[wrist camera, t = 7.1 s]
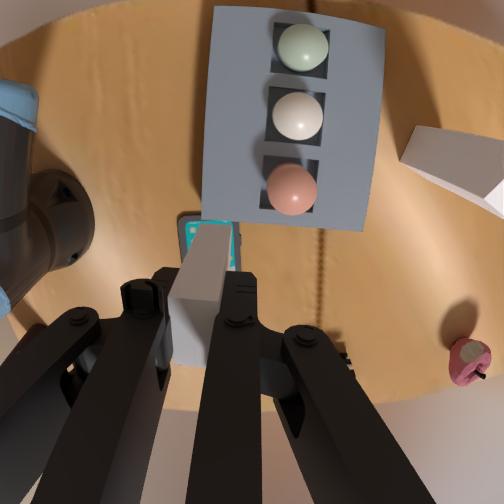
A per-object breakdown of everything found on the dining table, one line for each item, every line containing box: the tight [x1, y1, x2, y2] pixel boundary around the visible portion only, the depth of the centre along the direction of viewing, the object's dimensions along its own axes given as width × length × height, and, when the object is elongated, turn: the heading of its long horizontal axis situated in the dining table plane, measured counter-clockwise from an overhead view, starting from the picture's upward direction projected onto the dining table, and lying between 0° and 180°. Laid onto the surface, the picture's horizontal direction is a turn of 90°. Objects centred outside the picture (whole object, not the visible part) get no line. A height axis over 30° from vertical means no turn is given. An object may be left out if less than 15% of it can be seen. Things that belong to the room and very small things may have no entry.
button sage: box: [277, 24, 328, 73], centre depth 30 cm, size 5×5×4 cm
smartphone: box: [178, 214, 242, 272], centre depth 45 cm, size 9×1×15 cm
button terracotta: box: [266, 162, 317, 215], centre depth 35 cm, size 5×5×4 cm
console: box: [201, 6, 386, 232], centre depth 35 cm, size 20×26×4 cm
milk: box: [400, 125, 504, 219], centre depth 28 cm, size 6×6×22 cm
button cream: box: [271, 92, 323, 140], centre depth 33 cm, size 5×5×4 cm
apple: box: [449, 337, 491, 386], centre depth 48 cm, size 10×9×10 cm
